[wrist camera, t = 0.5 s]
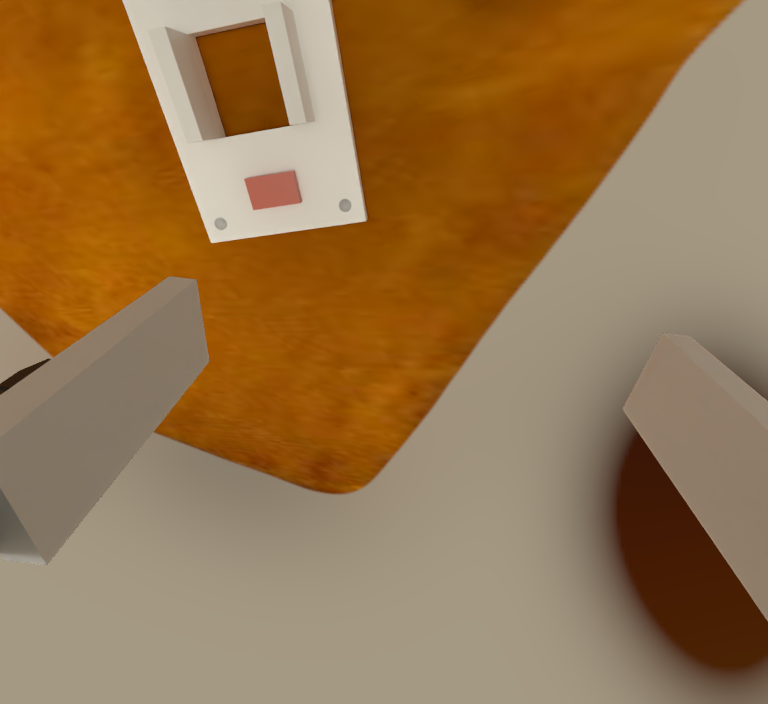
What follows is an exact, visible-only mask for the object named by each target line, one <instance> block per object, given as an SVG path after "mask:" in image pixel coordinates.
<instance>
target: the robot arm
mask: <svg viewBox="0 0 768 704" xmlns="http://www.w3.org/2000/svg"><path fill="white" fill-rule="evenodd" d="M208 362H209V356H208V350H207V344H206V337H205V331H204V325H203V318H202V312H201V306H200V300H199V293H198V287H197V281H196V279H187V278H178V277H170V276H169V277H168V278H166V279H165V280H163V281H162V282H161V283H159V284H158V285H156V286H155V287H154V288H152V289H151V290H149V291H148V292H146V293H145V294H144V295H142V296H141V297H139V298H138V299H136V300H135V301H134V302H132V303H131V304H129V305H128V306H126V307H125V308H124V309H122V310H121V311H119V312H118V313H116V314H115V315H114V316H112V317H111V318H109V319H108V320H107V321H105V322H104V323H102V324H101V325H99V326H98V327H97V328H95V329H94V330H92V331H91V332H89V333H88V334H87V335H85V336H84V337H82V338H81V339H79V340H78V341H77V342H75V343H74V344H72V345H71V346H69V347H68V348H67V349H65V350H64V351H62V352H61V353H60V354H58V355H57V356H55V357H54V358H52V359H46V360H45V361H42V362H39V363H37V364H35V365H33V366H30V367H27V368H25V369H23V370H20V371H18V372H17V373H16V374H14V375H13V376H11V377H10V378H8V379H7V380H5V381H4V382H2V383H1V384H0V555H1V557H2V558H3V559H4V560H7V561H16V562H25V563H33V564H42V565H48V563H49V562H50V561H51V560H52V558H53V557H54V556H55V554H56V553H57V552H58V551H59V549H60V548H61V547H62V546H63V545H64V543H65V542H66V540H67V539H68V538H69V537H70V536H71V534H72V533H73V532H74V531H75V529H76V528H77V527H78V526H79V524H80V523H81V522H82V521H83V519H84V518H85V517H86V516H87V514H88V513H89V512H90V511H91V509H92V508H93V507H94V506H95V504H96V503H97V502H98V501H99V499H100V498H101V497H102V496H103V494H104V493H105V492H106V490H107V489H108V488H109V487H110V486H111V484H112V483H113V482H114V480H115V479H116V478H117V477H118V475H119V474H120V473H121V472H122V470H123V469H124V468H125V467H126V465H127V464H128V463H129V462H130V460H131V459H132V458H133V457H134V455H135V454H136V453H137V451H138V450H139V449H140V448H141V447H142V445H143V444H144V443H145V442H146V440H147V439H148V438H149V437H150V435H151V434H152V433H153V432H154V430H155V429H156V428H157V427H158V425H159V424H160V423H161V421H162V420H163V419H164V418H165V416H166V415H167V414H168V413H169V411H170V410H171V409H172V408H173V406H174V405H175V404H176V403H177V401H178V400H179V399H180V398H181V396H182V395H183V394H184V393H185V391H186V390H187V389H188V388H189V386H190V385H191V384H192V383H193V381H194V380H195V379H196V378H197V376H198V375H199V374H200V373H201V371H202V370H203V369H204V368H205V366H206V365H207V364H208ZM623 411H624V412H625V414H626V415H627V417H628V418H629V419H630V421H631V422H632V424H633V425H634V427H635V428H636V430H637V431H638V432H639V434H640V435H641V437H642V438H643V440H644V441H645V443H646V444H647V445H648V447H649V448H650V450H651V452H652V453H653V454H654V456H655V457H656V459H657V460H658V462H659V463H660V465H661V466H662V468H663V469H664V471H665V472H666V473H667V475H668V476H669V478H670V479H671V481H672V482H673V484H674V485H675V487H676V488H677V489H678V491H679V492H680V494H681V495H682V497H683V498H684V500H685V501H686V503H687V504H688V506H689V507H690V508H691V510H692V511H693V513H694V514H695V516H696V517H697V519H698V520H699V522H700V523H701V525H702V526H703V527H704V529H705V530H706V532H707V533H708V535H709V536H710V537H711V539H712V541H713V542H714V543H715V545H716V546H717V548H718V549H719V551H720V552H721V553H722V555H723V557H724V558H725V559H726V561H727V562H728V564H729V565H730V567H731V568H732V570H733V571H734V573H735V574H736V576H737V577H738V578H739V580H740V581H741V583H742V584H743V586H744V587H745V588H746V590H747V592H748V593H749V594H750V596H751V597H752V599H753V600H754V602H755V603H756V605H757V606H758V608H759V609H760V611H761V612H762V614H763V615H764V616H765V618H766V619H767V621H768V401H767V400H765V399H764V398H763V397H762V396H761V395H759V394H758V393H757V392H756V391H755V390H753V389H752V388H751V387H750V386H749V385H747V384H746V383H745V382H744V381H743V380H742V379H740V378H739V377H738V376H737V375H736V374H734V373H733V372H732V371H731V370H730V369H728V368H727V367H726V366H725V365H724V364H722V363H721V362H720V361H719V360H718V359H716V358H715V357H714V356H713V355H712V354H710V353H709V352H708V351H707V350H706V349H705V348H703V347H702V346H701V345H700V344H698V343H697V342H696V341H695V340H694V339H693V338H691V337H690V336H685V335H676V334H668V333H662V335H661V337H660V338H659V341H658V342H657V344H656V346H655V348H654V350H653V352H652V354H651V356H650V357H649V359H648V361H647V363H646V365H645V367H644V369H643V371H642V373H641V375H640V377H639V378H638V380H637V382H636V384H635V386H634V388H633V390H632V392H631V394H630V395H629V398H628V400H627V401H626V403H625V405H624V407H623Z"/></svg>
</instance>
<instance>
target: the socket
mask: <svg viewBox="0 0 768 704" xmlns="http://www.w3.org/2000/svg"><path fill="white" fill-rule="evenodd" d="M122 1H123V3H124V6H125V9H126V12H127V14H128V17H129V20H130V23H131V25H132V28H133V31H134V33H135V36H136V39H137V42H138V44H139V47H140V50H141V53H142V55H143V58H144V61H145V64H146V66H147V69H148V72H149V74H150V77H151V80H152V83H153V85H154V88H155V91H156V94H157V96H158V99H159V102H160V105H161V107H162V110H163V113H164V115H165V118H166V121H167V124H168V126H169V129H170V132H171V135H172V137H173V140H174V143H175V146H176V148H177V151H178V154H179V156H180V159H181V162H182V165H183V167H184V170H185V173H186V176H187V178H188V181H189V184H190V187H191V189H192V192H193V195H194V197H195V200H196V203H197V206H198V208H199V211H200V214H201V217H202V219H203V222H204V225H205V228H206V230H207V233H208V236H209V238H210V241H211V243H216V242H223V241H230V240H237V239H244V238H251V237H258V236H265V235H272V234H279V233H286V232H294V231H301V230H308V229H315V228H322V227H329V226H336V225H343V224H350V223H357V222H364V221H367V218H368V217H367V211H366V205H365V199H364V193H363V187H362V181H361V175H360V169H359V163H358V157H357V151H356V145H355V139H354V133H353V127H352V121H351V115H350V109H349V103H348V97H347V91H346V85H345V78H344V72H343V66H342V60H341V54H340V48H339V42H338V36H337V30H336V24H335V18H334V12H333V6H332V0H122ZM263 22H266V26H267V30H268V35H269V39H270V43H271V47H272V52H273V56H274V60H275V65H276V69H277V73H278V77H279V82H280V86H281V90H282V94H283V99H284V103H285V107H286V112H287V116H288V120H289V124H290V125H292V126H287V127H281V128H275V129H270V130H264V131H258V132H253V133H247V134H242V135H236V136H230V137H226V135H225V132H224V129H223V125H222V122H221V119H220V116H219V112H218V109H217V106H216V103H215V99H214V96H213V93H212V90H211V86H210V83H209V80H208V77H207V73H206V70H205V67H204V64H203V60H202V57H201V54H200V51H199V47H198V44H197V41H196V37H198V36H202V35H207V34H212V33H216V32H221V31H226V30H230V29H235V28H240V27H244V26H249V25H254V24H258V23H263ZM297 124H298V125H297Z"/></svg>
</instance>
